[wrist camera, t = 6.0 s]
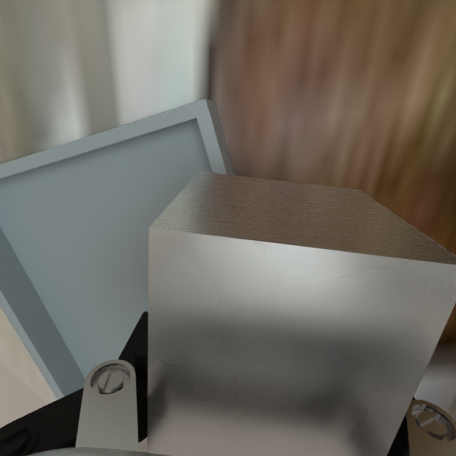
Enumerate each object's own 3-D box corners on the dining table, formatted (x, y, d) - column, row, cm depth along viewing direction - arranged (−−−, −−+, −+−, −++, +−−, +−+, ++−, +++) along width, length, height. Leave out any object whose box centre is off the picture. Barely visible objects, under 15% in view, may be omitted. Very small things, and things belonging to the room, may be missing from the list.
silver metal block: (298, 416, 15) (326, 588, 10) (183, 400, 16) (146, 560, 10) (359, 189, 11) (471, 266, 5) (199, 171, 11) (148, 227, 6)
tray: (289, 375, 27) (293, 410, 24) (97, 400, 31) (78, 433, 28) (214, 101, 20) (205, 98, 17) (-26, 177, 24) (-72, 187, 20)
